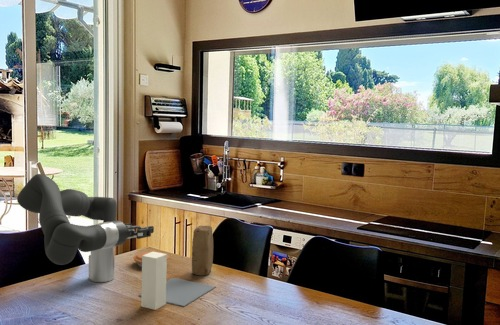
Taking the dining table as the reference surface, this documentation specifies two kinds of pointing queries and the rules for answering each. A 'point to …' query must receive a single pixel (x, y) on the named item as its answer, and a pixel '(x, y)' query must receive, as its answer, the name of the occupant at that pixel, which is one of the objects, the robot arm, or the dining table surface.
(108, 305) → the dining table surface
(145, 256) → the tall cream block
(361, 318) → the dining table surface
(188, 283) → the mat
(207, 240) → the tan textured post
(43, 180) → the robot arm
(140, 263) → the pie
